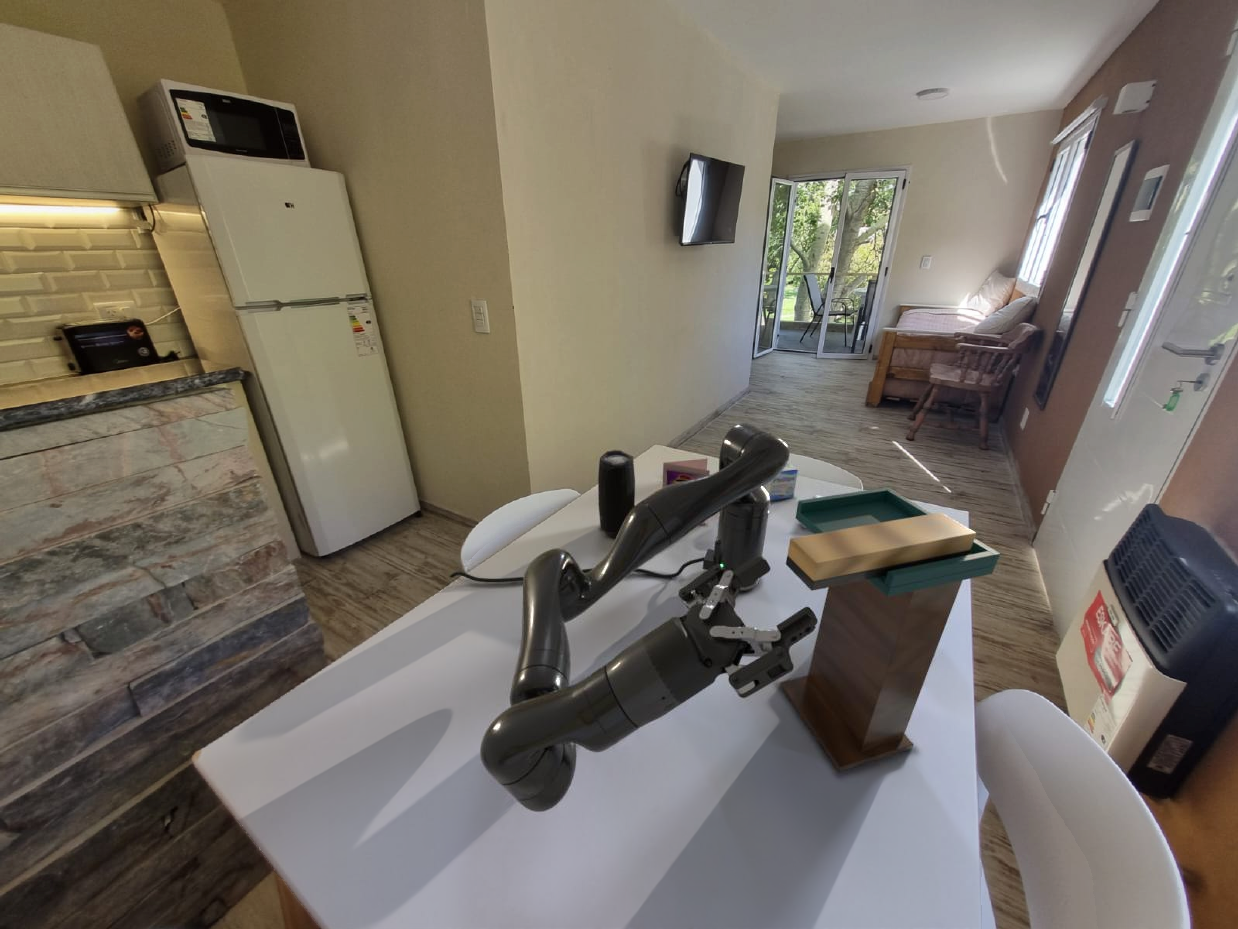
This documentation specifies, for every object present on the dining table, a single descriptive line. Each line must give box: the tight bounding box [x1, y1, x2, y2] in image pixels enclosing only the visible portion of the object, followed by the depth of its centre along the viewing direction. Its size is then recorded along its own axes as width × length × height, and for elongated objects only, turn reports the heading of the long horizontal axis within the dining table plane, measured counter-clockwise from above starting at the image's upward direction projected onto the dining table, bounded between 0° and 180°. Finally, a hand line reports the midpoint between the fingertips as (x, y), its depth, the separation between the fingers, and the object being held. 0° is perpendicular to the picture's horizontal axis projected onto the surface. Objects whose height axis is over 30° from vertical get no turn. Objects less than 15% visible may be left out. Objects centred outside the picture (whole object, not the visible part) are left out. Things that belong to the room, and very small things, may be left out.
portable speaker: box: [597, 449, 636, 539], centre depth 113 cm, size 9×9×20 cm
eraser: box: [785, 512, 977, 592], centre depth 52 cm, size 20×5×3 cm, turn 106°
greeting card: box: [661, 458, 711, 526], centre depth 120 cm, size 11×7×15 cm, turn 67°
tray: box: [795, 486, 1001, 597], centre depth 57 cm, size 14×16×3 cm
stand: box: [779, 579, 964, 773], centre depth 65 cm, size 12×14×31 cm
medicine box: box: [764, 463, 799, 502], centre depth 131 cm, size 8×4×9 cm, turn 105°
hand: (788, 586), depth 50 cm, fingers open, 8 cm apart
